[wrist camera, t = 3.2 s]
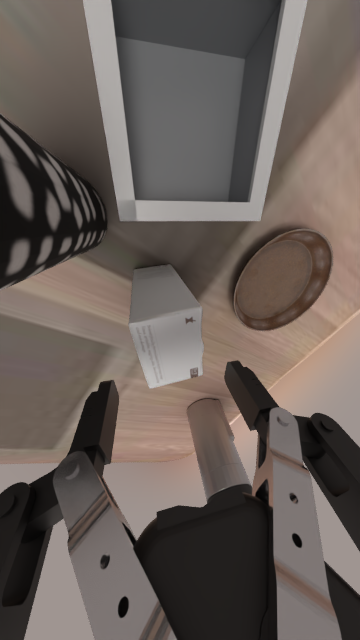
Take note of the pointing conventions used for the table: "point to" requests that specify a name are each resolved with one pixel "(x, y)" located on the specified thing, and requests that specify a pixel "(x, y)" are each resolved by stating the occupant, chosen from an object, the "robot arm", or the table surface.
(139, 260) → the table surface
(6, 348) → the table surface
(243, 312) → the plant saucer
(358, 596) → the robot arm
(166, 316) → the skincare box
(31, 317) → the table surface
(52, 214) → the white-spotted black cylinder
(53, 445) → the table surface
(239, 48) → the bin
